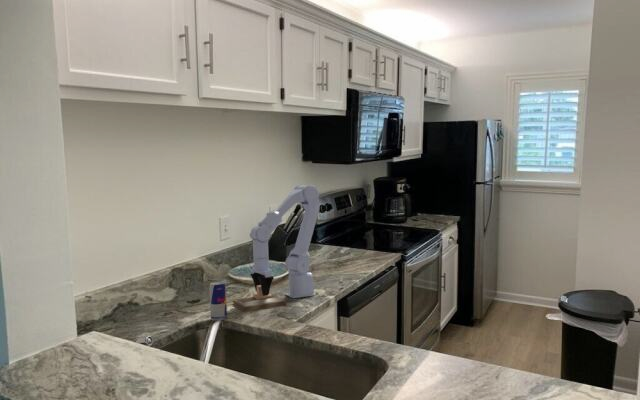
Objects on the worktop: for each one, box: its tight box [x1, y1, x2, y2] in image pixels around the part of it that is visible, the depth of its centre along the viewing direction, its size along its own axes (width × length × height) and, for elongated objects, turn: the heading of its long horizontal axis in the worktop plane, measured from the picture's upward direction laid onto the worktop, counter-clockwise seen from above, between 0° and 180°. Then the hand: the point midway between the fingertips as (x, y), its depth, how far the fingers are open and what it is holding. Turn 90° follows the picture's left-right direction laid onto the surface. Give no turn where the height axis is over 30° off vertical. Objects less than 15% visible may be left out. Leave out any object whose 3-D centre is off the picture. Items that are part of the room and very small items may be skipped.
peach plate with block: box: [252, 285, 272, 299], centre depth 186 cm, size 6×5×4 cm
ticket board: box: [232, 293, 287, 312], centre depth 182 cm, size 16×14×2 cm
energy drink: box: [208, 281, 228, 322], centre depth 164 cm, size 5×5×12 cm
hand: (262, 293), depth 186 cm, fingers open, 7 cm apart
